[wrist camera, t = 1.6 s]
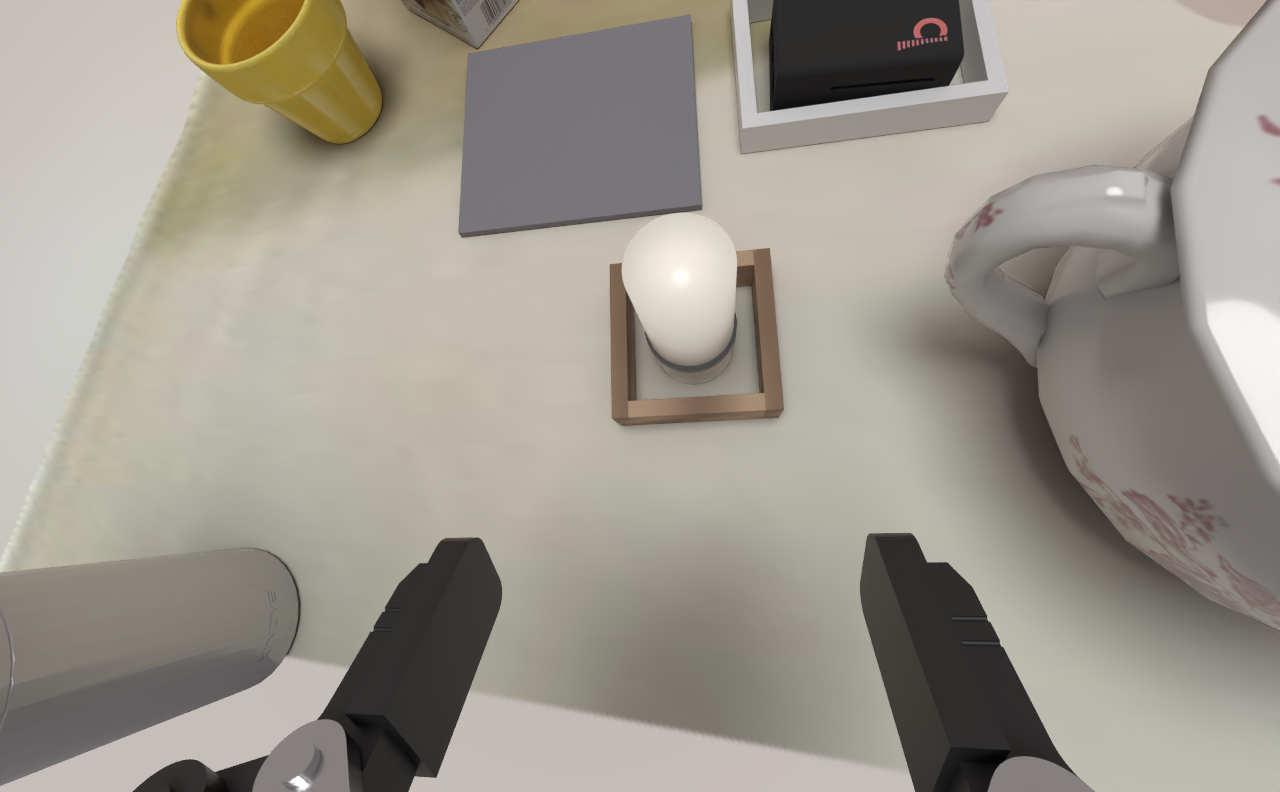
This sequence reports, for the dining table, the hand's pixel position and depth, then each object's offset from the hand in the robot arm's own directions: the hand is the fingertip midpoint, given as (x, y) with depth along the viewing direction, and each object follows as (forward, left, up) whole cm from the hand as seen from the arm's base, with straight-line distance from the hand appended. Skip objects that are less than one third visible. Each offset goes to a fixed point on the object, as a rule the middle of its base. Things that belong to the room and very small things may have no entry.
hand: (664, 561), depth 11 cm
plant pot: (-28, +34, -21) cm, 49 cm away
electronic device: (+12, +30, -22) cm, 39 cm away
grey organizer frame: (+12, +31, -21) cm, 39 cm away
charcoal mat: (-8, +29, -21) cm, 37 cm away
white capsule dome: (0, +11, -21) cm, 24 cm away
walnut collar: (0, +11, -21) cm, 24 cm away
